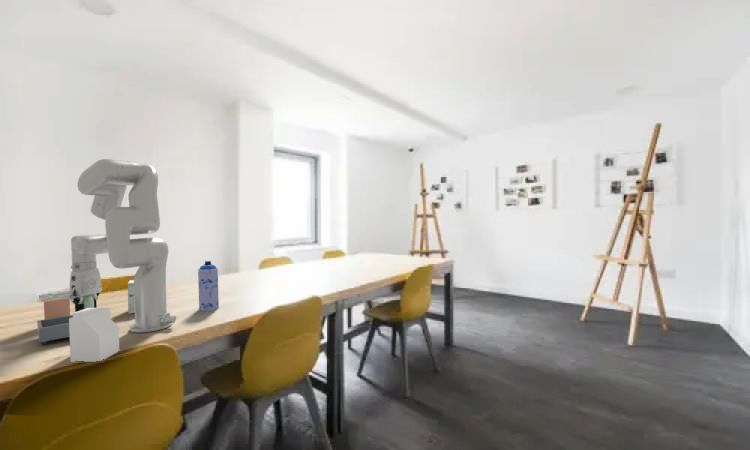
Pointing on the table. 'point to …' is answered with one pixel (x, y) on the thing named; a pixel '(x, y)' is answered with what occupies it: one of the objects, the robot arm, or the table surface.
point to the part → (88, 301)
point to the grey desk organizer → (54, 320)
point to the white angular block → (93, 335)
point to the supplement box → (131, 297)
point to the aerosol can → (208, 287)
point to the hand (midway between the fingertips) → (86, 311)
